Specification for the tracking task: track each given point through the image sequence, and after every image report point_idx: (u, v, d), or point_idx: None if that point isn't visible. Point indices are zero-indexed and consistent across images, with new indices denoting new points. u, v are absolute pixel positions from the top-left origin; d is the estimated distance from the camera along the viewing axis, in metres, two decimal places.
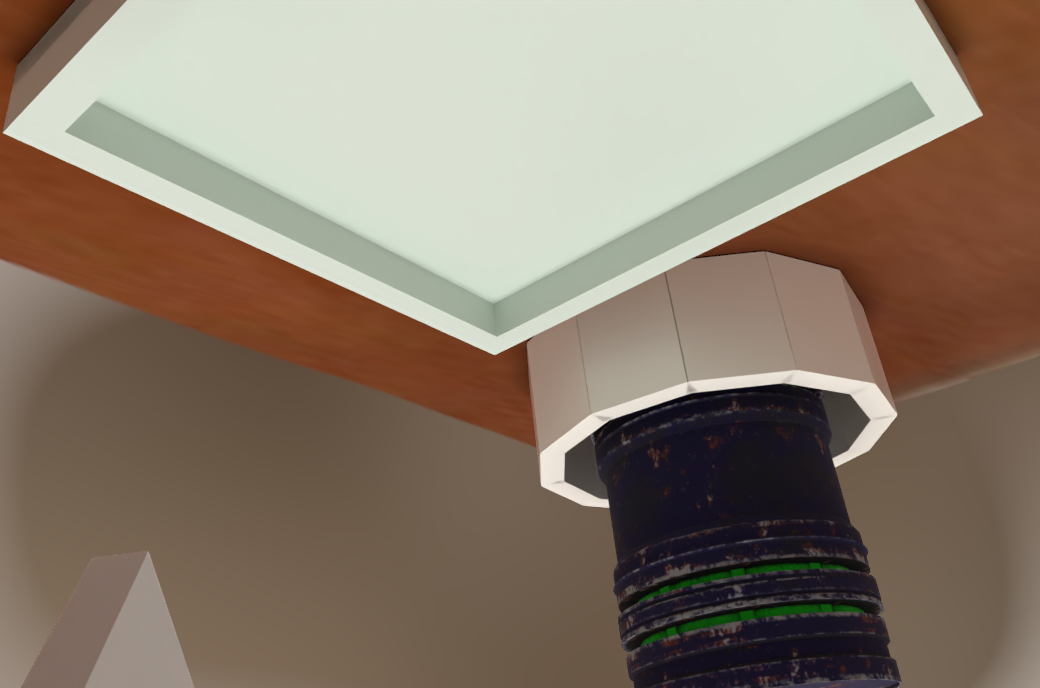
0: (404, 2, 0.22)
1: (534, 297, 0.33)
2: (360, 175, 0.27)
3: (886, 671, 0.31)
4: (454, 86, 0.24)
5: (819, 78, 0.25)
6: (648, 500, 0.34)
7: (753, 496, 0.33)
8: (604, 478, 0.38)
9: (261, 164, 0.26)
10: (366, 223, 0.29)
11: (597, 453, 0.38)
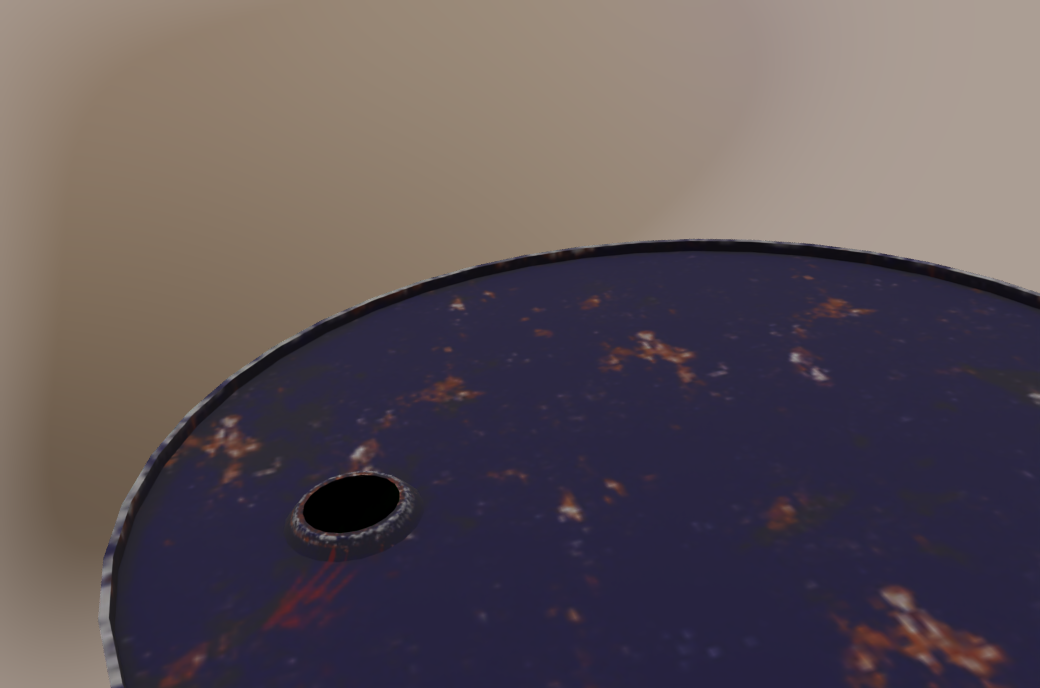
0: None
1: None
2: None
3: None
4: None
5: None
6: None
7: None
8: None
9: None
10: None
11: None
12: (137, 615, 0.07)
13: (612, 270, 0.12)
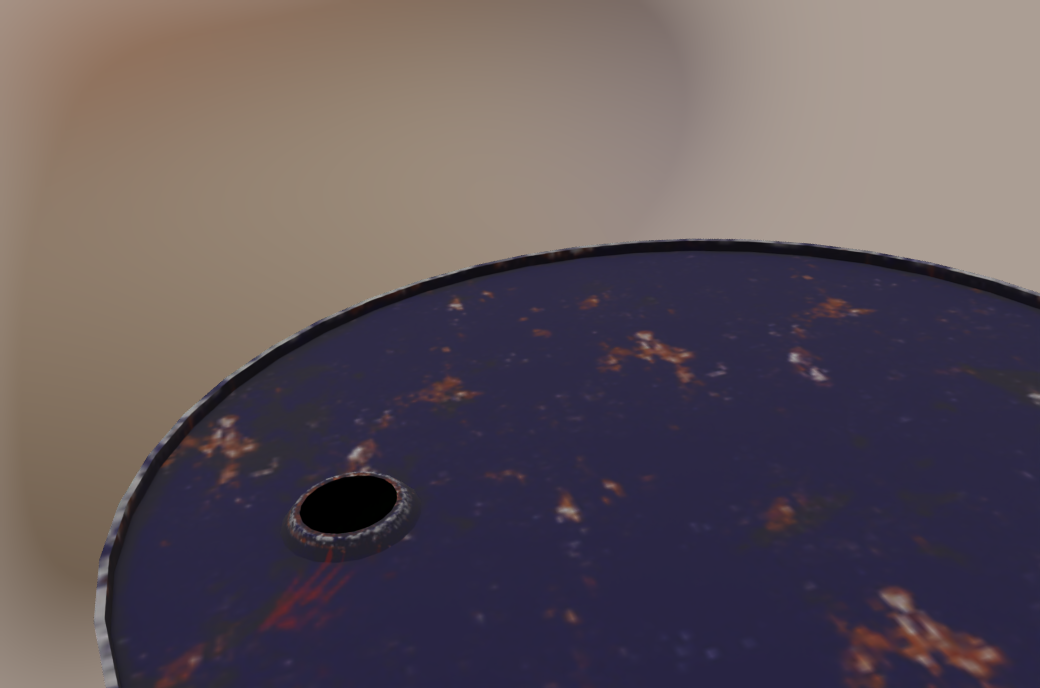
0: None
1: None
2: None
3: None
4: None
5: None
6: None
7: None
8: None
9: None
10: None
11: None
12: (133, 616, 0.07)
13: (611, 270, 0.12)
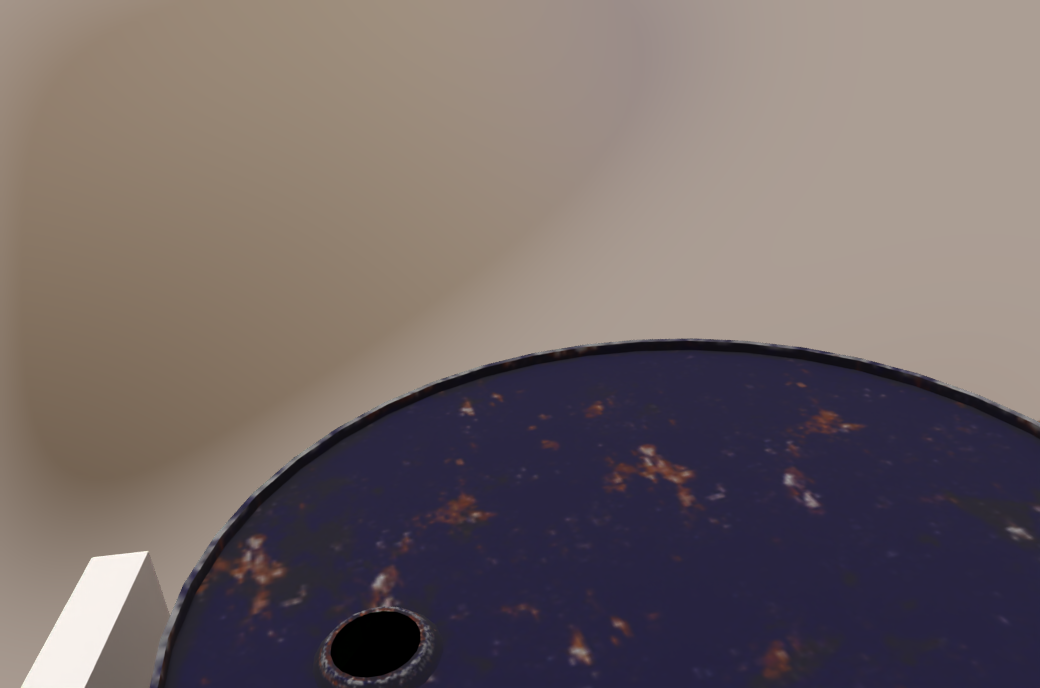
0: None
1: None
2: None
3: None
4: None
5: None
6: None
7: None
8: None
9: None
10: None
11: None
12: None
13: (614, 371, 0.13)
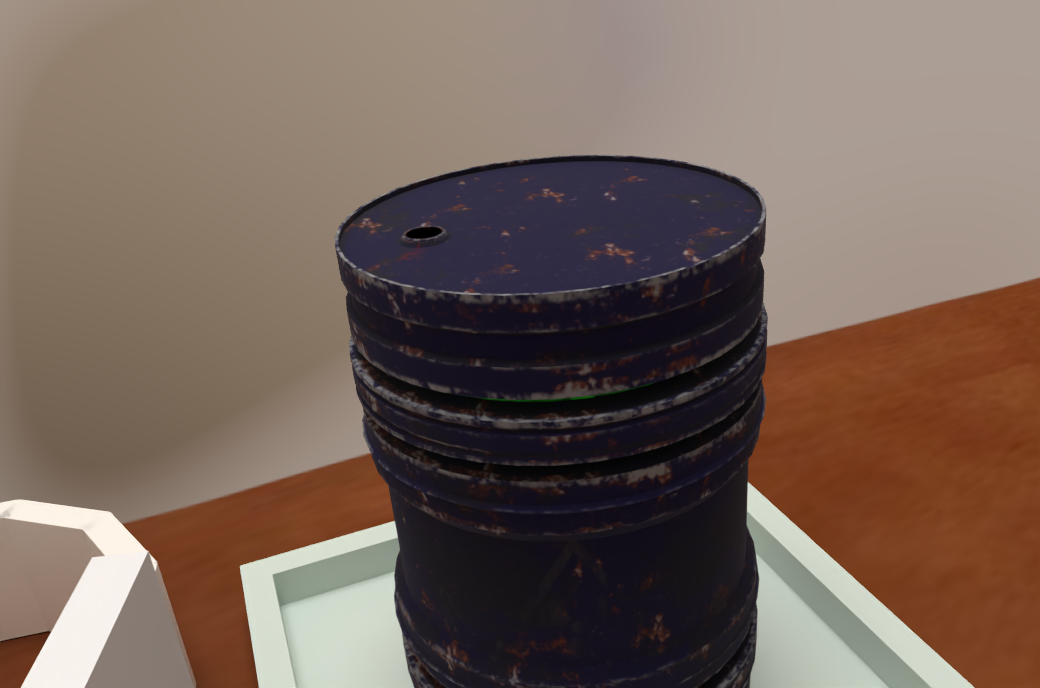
0: None
1: (284, 628, 0.30)
2: None
3: (668, 287, 0.17)
4: None
5: None
6: None
7: (747, 468, 0.22)
8: None
9: None
10: None
11: None
12: (352, 260, 0.20)
13: (536, 169, 0.25)
